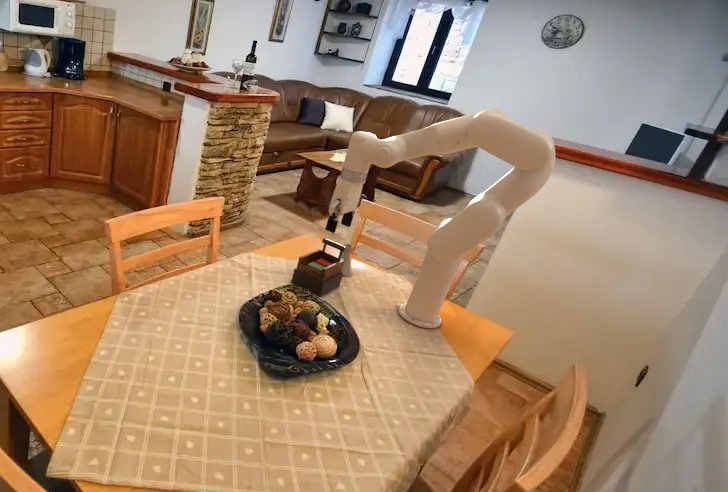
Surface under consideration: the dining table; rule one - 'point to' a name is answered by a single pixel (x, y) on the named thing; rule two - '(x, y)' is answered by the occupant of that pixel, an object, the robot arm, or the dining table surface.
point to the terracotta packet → (323, 262)
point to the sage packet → (316, 267)
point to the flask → (347, 260)
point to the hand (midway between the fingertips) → (337, 228)
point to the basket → (319, 254)
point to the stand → (316, 282)
